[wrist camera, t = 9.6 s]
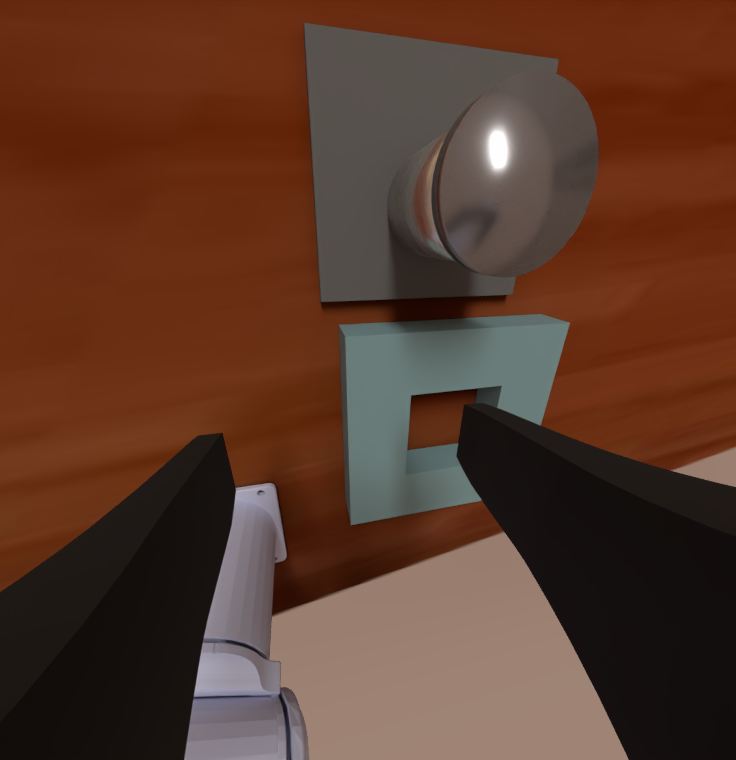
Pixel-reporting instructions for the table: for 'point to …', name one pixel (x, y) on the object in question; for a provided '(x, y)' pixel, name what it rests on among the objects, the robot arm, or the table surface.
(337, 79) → the rubber mat
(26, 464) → the table surface
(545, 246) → the door knob
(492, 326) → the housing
